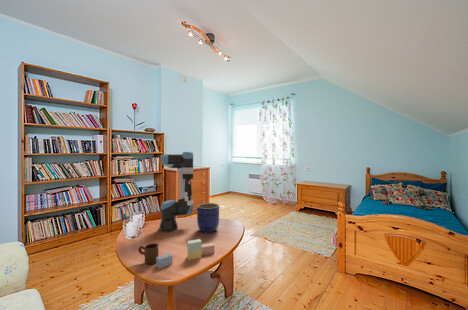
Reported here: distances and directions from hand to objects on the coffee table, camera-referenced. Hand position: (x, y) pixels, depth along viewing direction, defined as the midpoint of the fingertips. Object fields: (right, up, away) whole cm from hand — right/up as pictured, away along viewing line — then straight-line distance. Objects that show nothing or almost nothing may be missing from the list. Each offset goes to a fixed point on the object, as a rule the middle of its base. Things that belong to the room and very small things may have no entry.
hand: (188, 202), depth 151 cm
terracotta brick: (+16, -29, -14) cm, 36 cm away
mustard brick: (+8, -29, -20) cm, 36 cm away
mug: (-18, -29, -25) cm, 43 cm away
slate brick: (-7, -29, -29) cm, 42 cm away
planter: (+11, -29, +25) cm, 39 cm away
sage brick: (+8, -24, -20) cm, 33 cm away
